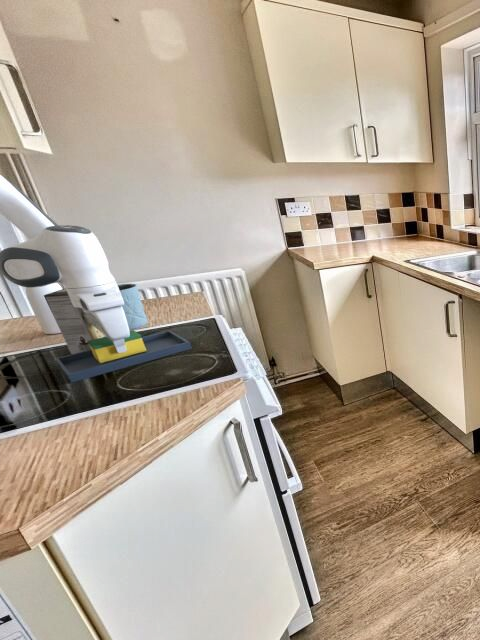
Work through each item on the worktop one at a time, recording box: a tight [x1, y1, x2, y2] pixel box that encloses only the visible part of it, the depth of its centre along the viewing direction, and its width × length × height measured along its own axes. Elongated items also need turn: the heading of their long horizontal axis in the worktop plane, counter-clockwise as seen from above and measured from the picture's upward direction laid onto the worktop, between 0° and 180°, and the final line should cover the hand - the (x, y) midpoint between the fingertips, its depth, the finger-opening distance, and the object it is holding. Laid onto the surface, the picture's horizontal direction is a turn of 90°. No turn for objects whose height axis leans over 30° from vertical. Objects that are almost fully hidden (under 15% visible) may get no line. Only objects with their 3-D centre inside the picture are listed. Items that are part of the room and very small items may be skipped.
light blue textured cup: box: [117, 283, 149, 331], centre depth 126 cm, size 10×10×12 cm
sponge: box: [88, 329, 146, 363], centre depth 106 cm, size 9×6×4 cm, turn 143°
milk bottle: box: [25, 282, 63, 335], centre depth 123 cm, size 8×8×20 cm
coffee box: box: [44, 288, 104, 355], centre depth 110 cm, size 9×6×16 cm
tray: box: [54, 330, 192, 384], centre depth 106 cm, size 23×15×2 cm, turn 143°
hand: (118, 348), depth 106 cm, fingers closed on sponge, 6 cm apart
